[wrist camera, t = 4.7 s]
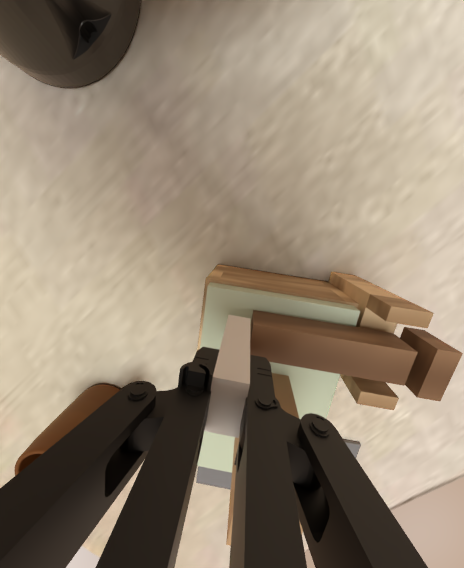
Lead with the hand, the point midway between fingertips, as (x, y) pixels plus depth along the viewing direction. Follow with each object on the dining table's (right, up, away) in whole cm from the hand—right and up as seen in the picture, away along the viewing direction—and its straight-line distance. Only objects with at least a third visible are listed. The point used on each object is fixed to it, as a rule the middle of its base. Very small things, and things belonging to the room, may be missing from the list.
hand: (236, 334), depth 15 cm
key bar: (+7, 0, +1) cm, 7 cm away
